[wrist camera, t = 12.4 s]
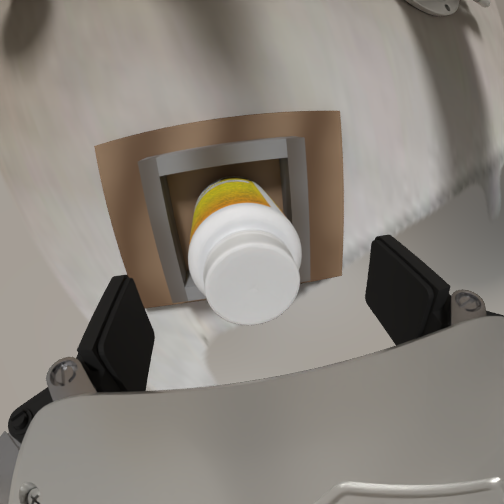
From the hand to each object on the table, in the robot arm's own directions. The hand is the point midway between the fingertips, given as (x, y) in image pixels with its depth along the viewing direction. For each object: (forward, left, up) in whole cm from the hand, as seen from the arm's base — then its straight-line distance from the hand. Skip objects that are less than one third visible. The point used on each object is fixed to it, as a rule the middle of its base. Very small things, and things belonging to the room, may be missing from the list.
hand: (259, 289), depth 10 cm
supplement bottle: (0, 0, -11) cm, 11 cm away
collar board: (0, +1, -12) cm, 12 cm away
